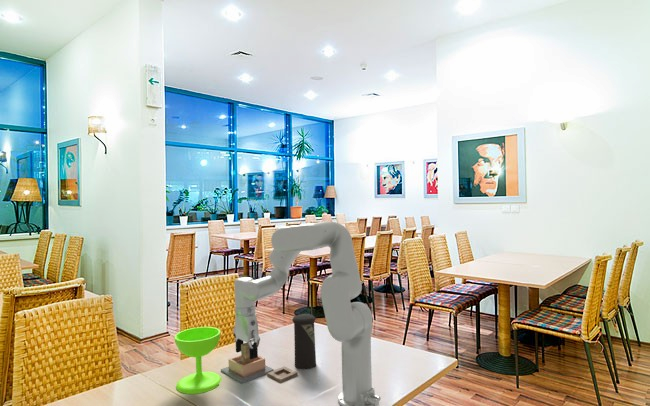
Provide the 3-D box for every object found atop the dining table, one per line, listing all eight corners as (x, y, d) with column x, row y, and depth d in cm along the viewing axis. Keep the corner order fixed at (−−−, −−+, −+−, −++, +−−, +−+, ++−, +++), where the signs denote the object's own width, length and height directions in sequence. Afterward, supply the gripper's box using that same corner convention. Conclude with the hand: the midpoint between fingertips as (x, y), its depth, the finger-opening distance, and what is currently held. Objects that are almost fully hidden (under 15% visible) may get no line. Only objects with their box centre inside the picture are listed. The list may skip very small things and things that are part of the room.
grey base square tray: (273, 372, 153) (273, 358, 153) (241, 384, 144) (241, 370, 144) (251, 361, 164) (251, 348, 164) (220, 372, 155) (220, 358, 155)
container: (313, 371, 153) (312, 319, 153) (291, 370, 155) (289, 318, 155) (318, 362, 162) (317, 312, 162) (297, 361, 164) (295, 312, 163)
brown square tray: (297, 376, 149) (297, 372, 149) (280, 383, 144) (280, 379, 144) (284, 370, 155) (284, 366, 155) (267, 377, 150) (267, 373, 150)
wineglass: (175, 378, 151) (174, 330, 151) (219, 370, 156) (218, 324, 156) (176, 397, 136) (174, 344, 136) (224, 388, 141) (223, 337, 141)
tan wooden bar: (252, 367, 154) (252, 344, 154) (245, 370, 152) (245, 346, 152) (248, 365, 156) (247, 342, 156) (241, 367, 154) (241, 344, 154)
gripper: (266, 312, 150) (267, 357, 150) (241, 304, 163) (243, 346, 163) (249, 316, 145) (250, 364, 145) (225, 308, 158) (226, 351, 158)
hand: (246, 354), depth 154 cm, fingers open, 9 cm apart
